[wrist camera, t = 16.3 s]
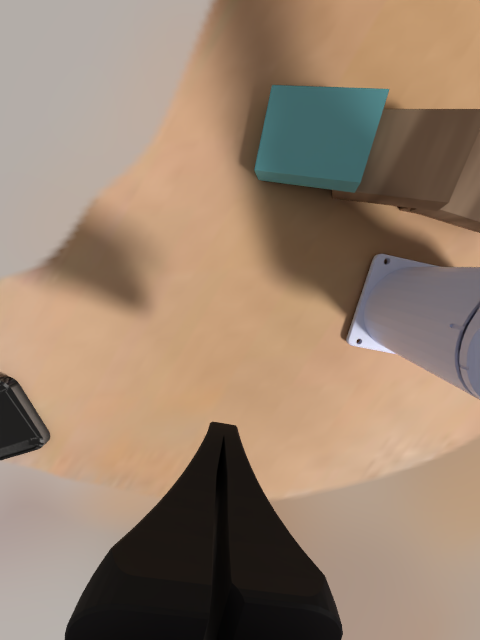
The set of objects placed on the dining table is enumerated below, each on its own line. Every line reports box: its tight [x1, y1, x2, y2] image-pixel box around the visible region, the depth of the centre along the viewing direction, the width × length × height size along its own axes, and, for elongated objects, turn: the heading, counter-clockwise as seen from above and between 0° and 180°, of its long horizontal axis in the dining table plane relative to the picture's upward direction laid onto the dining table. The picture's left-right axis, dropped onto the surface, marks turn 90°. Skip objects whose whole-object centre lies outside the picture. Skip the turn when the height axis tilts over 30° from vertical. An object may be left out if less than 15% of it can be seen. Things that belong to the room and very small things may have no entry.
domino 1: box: [332, 109, 480, 211], centre depth 15 cm, size 2×5×7 cm
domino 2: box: [410, 131, 480, 233], centre depth 16 cm, size 2×5×7 cm
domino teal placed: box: [254, 85, 389, 193], centre depth 15 cm, size 2×5×7 cm
